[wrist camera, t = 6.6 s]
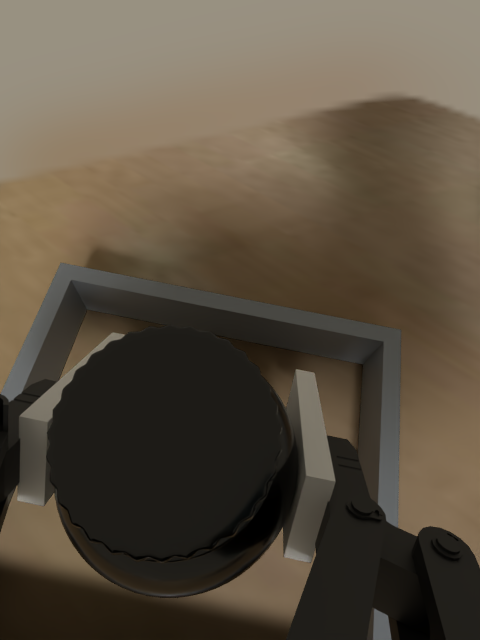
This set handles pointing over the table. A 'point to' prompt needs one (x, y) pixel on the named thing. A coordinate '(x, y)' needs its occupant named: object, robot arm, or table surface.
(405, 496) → the table surface
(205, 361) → the supplement bottle
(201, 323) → the square frame
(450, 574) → the robot arm
